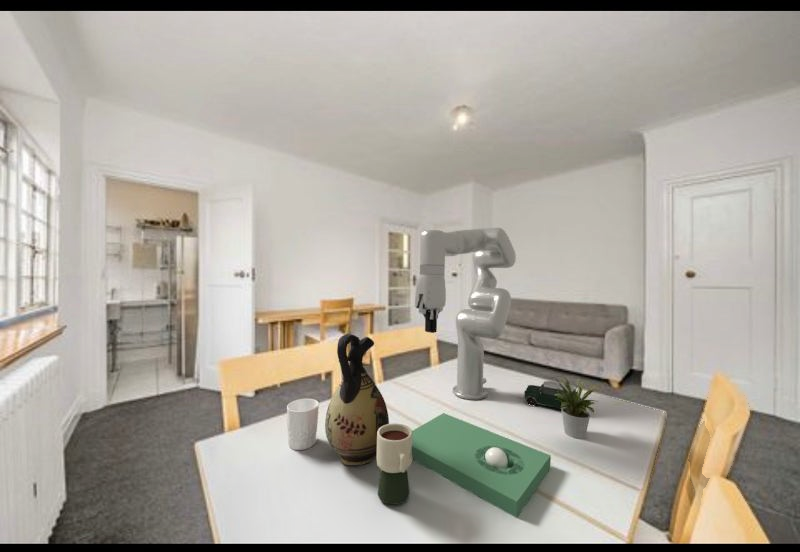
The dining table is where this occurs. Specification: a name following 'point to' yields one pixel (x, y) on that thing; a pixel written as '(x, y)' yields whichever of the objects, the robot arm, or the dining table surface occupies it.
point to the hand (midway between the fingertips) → (430, 331)
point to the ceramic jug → (355, 406)
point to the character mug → (394, 462)
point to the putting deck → (480, 461)
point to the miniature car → (546, 394)
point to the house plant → (575, 410)
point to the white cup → (302, 423)
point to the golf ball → (496, 458)
